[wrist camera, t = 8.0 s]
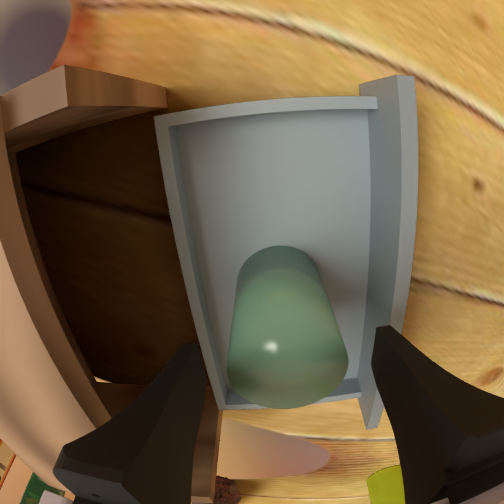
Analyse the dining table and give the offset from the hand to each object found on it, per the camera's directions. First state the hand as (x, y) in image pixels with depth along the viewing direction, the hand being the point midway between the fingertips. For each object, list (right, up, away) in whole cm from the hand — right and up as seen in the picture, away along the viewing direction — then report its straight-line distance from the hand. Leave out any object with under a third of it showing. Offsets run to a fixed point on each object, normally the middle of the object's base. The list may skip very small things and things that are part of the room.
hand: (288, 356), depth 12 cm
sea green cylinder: (0, +2, +6) cm, 6 cm away
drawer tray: (0, +3, +7) cm, 8 cm away
